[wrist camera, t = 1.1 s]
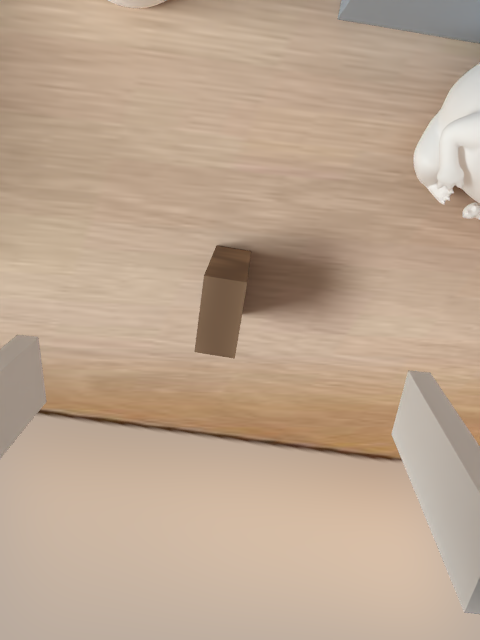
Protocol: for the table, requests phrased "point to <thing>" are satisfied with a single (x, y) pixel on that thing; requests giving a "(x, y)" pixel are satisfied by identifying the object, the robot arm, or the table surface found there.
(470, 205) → the figurine
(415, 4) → the coin box
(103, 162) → the table surface
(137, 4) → the cup
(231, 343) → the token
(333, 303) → the table surface
